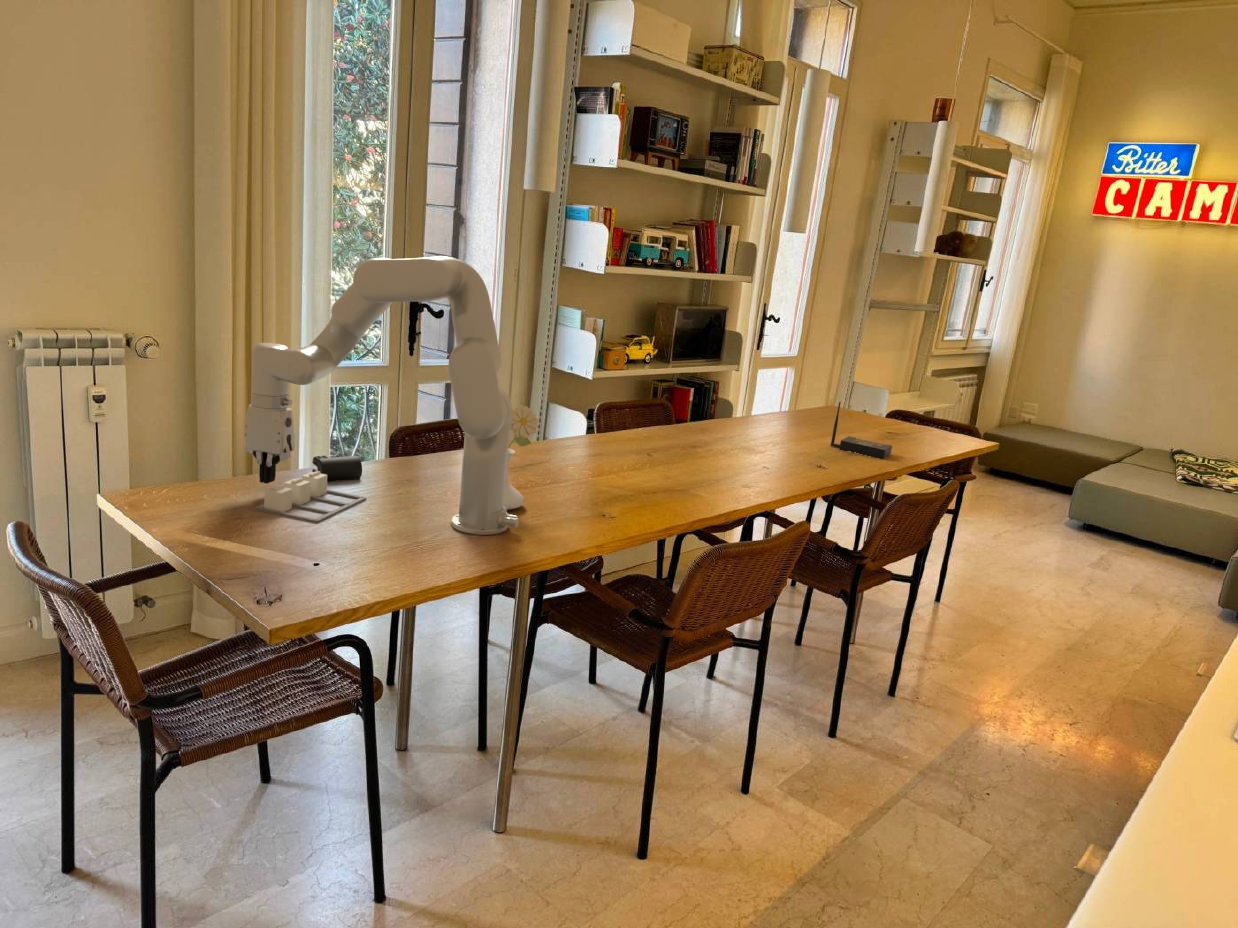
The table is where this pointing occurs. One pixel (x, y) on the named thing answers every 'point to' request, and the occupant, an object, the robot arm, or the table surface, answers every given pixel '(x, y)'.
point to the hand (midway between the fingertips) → (267, 481)
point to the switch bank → (327, 513)
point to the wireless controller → (861, 444)
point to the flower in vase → (521, 426)
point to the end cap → (339, 467)
